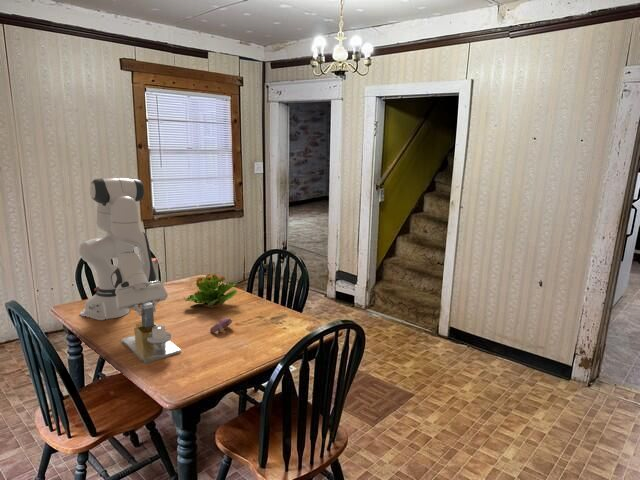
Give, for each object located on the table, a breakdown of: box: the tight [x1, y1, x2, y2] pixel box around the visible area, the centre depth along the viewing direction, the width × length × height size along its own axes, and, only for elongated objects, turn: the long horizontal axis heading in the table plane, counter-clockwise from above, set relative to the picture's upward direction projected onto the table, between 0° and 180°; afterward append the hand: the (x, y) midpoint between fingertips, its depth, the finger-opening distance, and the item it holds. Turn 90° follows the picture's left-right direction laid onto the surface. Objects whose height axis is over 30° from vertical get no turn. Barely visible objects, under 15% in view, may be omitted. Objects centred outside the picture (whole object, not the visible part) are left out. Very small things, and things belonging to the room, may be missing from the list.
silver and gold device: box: [121, 321, 182, 365], centre depth 178 cm, size 26×15×12 cm, turn 43°
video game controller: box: [209, 317, 233, 333], centre depth 198 cm, size 10×5×7 cm, turn 150°
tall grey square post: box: [140, 301, 155, 329], centre depth 178 cm, size 4×4×10 cm
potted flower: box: [183, 273, 238, 308], centre depth 227 cm, size 25×24×18 cm
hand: (147, 313), depth 178 cm, fingers closed on tall grey square post, 4 cm apart
